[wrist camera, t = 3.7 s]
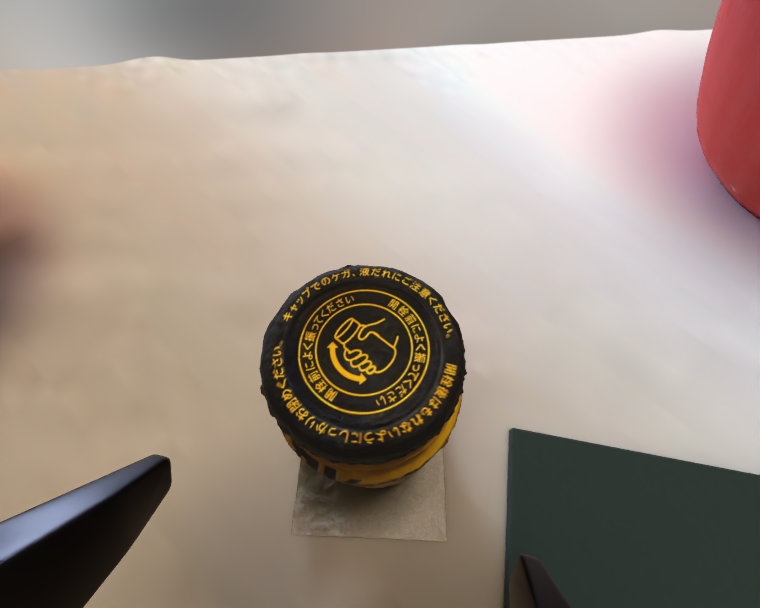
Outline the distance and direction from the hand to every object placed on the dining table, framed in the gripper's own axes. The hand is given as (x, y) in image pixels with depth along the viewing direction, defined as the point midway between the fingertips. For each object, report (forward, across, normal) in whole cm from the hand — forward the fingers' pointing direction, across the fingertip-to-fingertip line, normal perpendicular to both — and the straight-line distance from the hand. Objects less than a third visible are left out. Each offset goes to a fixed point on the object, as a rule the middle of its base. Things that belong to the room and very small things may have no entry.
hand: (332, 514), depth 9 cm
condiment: (+9, 0, +5) cm, 11 cm away
